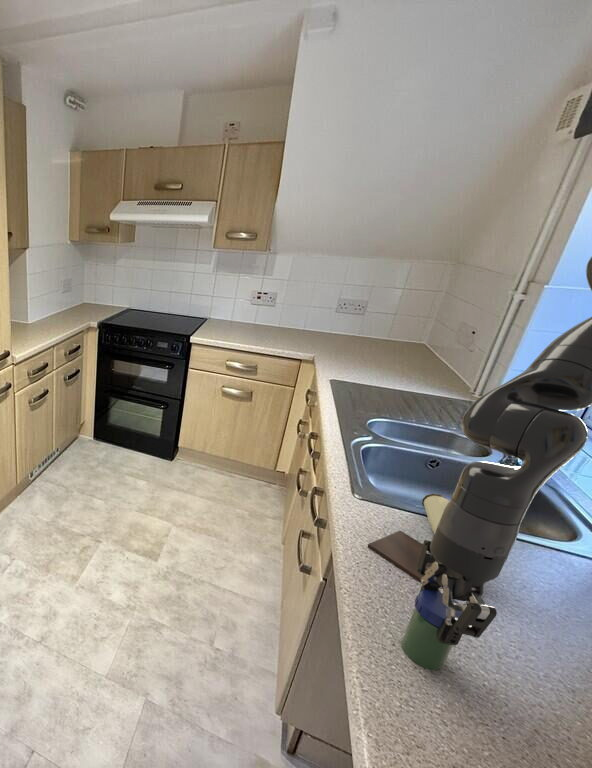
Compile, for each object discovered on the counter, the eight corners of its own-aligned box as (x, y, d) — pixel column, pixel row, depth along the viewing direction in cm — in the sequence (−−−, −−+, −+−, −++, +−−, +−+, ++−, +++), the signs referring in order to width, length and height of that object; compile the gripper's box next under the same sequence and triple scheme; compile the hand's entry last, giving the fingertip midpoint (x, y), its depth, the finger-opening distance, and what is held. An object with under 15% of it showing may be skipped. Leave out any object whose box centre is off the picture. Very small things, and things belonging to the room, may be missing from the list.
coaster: (399, 533, 92) (400, 530, 92) (457, 568, 83) (458, 565, 82) (367, 546, 88) (368, 543, 88) (424, 585, 78) (426, 582, 78)
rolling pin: (416, 500, 104) (422, 483, 102) (444, 508, 101) (451, 491, 99) (445, 584, 77) (454, 563, 75) (484, 598, 74) (495, 577, 73)
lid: (407, 594, 66) (411, 585, 65) (450, 603, 65) (455, 594, 64) (425, 626, 61) (429, 616, 60) (473, 636, 59) (478, 627, 59)
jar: (412, 632, 69) (430, 589, 66) (450, 661, 65) (472, 615, 61) (393, 645, 67) (411, 601, 63) (432, 676, 62) (453, 629, 59)
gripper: (417, 500, 65) (387, 582, 71) (472, 566, 52) (429, 660, 58) (474, 509, 63) (438, 592, 69) (545, 580, 50) (493, 675, 56)
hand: (434, 623), depth 63 cm, fingers closed on lid, 5 cm apart
